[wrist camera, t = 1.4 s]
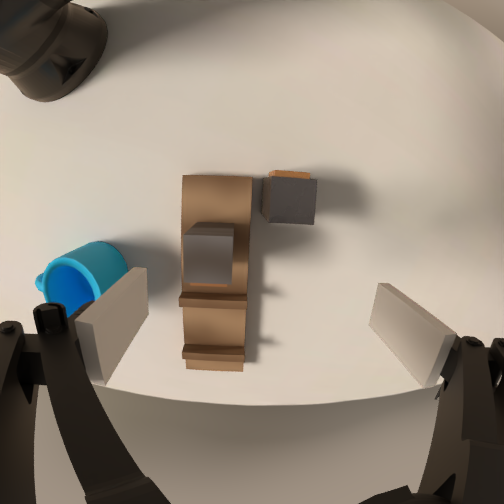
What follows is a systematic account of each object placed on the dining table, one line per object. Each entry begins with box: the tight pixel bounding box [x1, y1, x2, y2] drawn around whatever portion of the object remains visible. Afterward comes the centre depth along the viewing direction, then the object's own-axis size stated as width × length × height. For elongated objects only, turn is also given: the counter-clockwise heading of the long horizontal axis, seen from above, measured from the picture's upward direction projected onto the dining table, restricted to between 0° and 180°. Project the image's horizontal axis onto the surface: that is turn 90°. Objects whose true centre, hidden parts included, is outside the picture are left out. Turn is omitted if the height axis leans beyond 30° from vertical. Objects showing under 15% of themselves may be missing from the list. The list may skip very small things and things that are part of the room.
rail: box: [179, 175, 253, 372], centre depth 29 cm, size 24×7×10 cm, turn 177°
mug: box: [35, 241, 128, 318], centre depth 29 cm, size 12×8×8 cm
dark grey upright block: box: [261, 170, 317, 225], centre depth 28 cm, size 5×4×8 cm
